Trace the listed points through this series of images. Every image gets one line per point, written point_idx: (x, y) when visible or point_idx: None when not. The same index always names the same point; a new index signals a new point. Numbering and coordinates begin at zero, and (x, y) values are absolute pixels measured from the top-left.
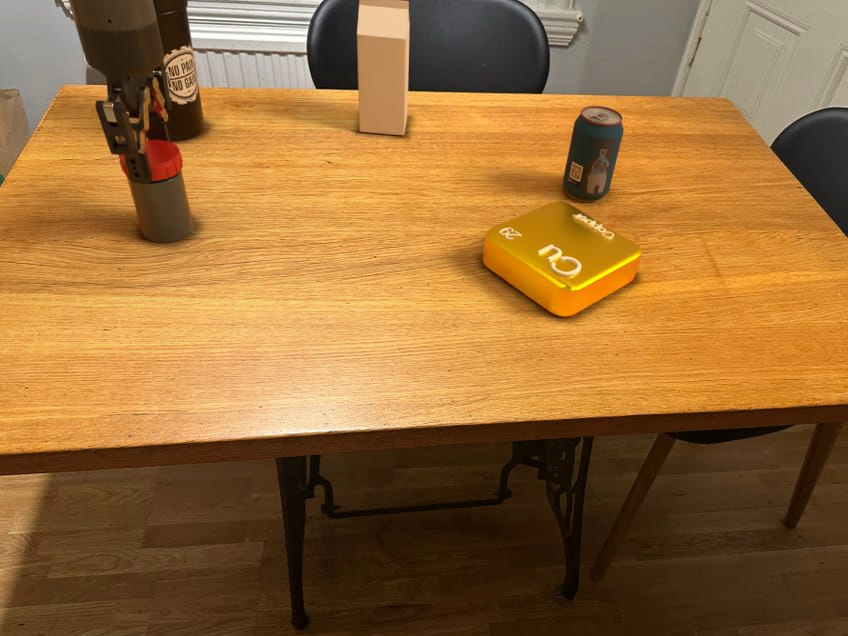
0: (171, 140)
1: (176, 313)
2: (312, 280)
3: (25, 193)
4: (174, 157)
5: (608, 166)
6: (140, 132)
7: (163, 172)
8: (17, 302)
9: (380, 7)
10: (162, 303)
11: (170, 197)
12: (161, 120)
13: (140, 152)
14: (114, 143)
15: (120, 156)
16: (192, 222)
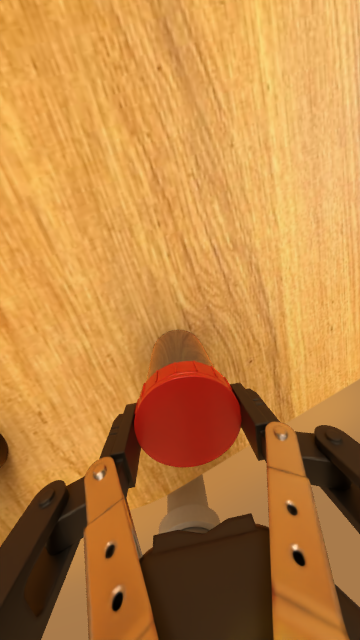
0: (1, 437)
1: (306, 283)
2: (231, 154)
3: (160, 487)
4: (194, 377)
5: None
6: (303, 475)
7: (220, 376)
8: (304, 406)
9: None
10: (293, 302)
11: (203, 355)
12: (116, 468)
13: (287, 428)
14: (353, 492)
15: (218, 455)
16: (168, 333)
